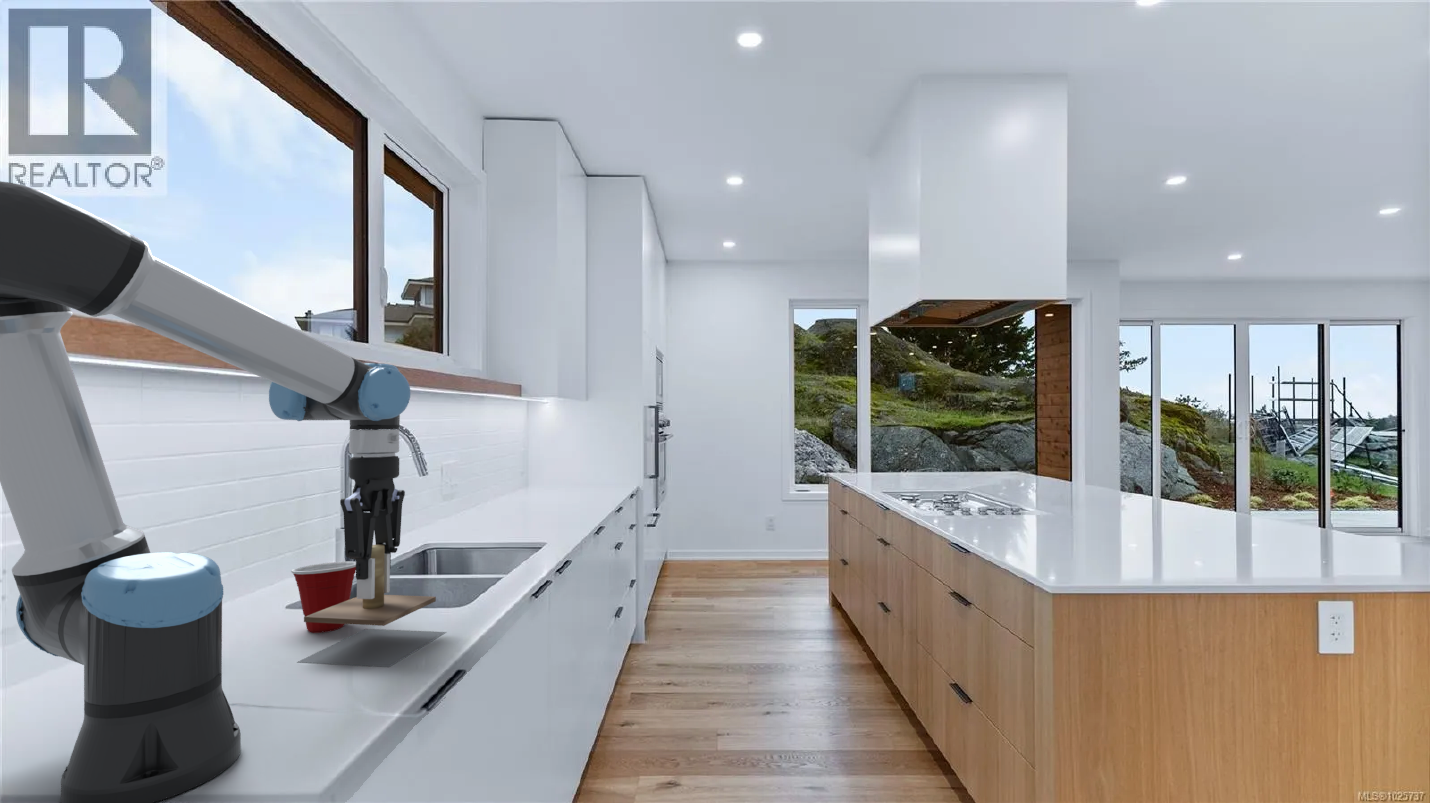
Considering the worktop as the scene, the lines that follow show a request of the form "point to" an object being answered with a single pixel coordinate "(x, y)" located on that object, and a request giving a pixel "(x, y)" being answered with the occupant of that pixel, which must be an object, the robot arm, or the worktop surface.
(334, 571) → the plastic cup
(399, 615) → the walnut lid
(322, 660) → the charcoal mat
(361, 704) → the worktop surface
